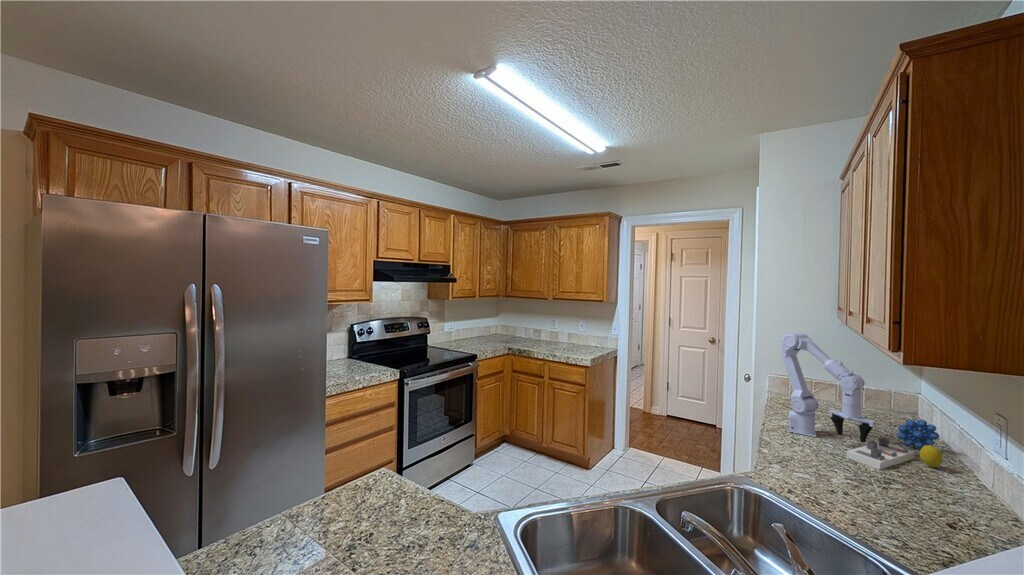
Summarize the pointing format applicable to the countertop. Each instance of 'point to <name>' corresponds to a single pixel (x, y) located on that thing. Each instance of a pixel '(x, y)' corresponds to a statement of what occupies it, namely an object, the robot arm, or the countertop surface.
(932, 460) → the lemon
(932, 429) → the grapes
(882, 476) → the countertop surface
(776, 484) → the countertop surface
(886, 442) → the switch far
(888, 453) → the switch panel
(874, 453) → the switch near
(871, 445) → the switch middle
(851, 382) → the robot arm
